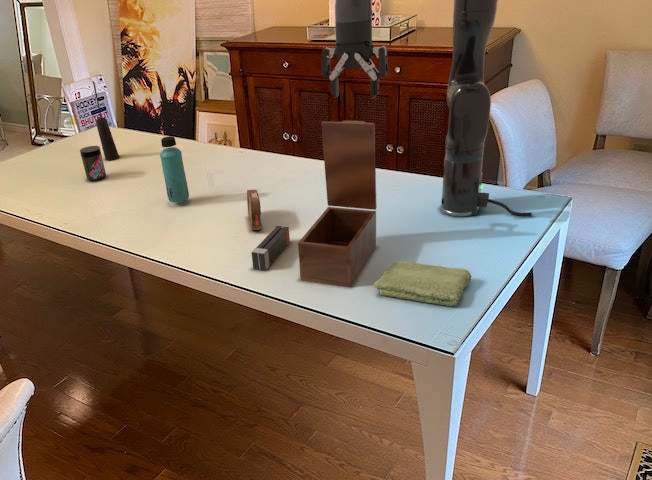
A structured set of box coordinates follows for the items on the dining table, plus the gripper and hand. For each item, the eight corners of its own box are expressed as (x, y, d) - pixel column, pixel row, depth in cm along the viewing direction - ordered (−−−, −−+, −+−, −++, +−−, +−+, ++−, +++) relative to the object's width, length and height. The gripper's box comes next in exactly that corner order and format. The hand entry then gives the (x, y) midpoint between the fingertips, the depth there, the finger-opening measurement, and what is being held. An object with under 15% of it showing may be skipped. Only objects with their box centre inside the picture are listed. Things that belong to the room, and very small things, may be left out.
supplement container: (86, 183, 209) (79, 153, 204) (87, 177, 215) (79, 147, 210) (106, 180, 210) (99, 150, 205) (106, 173, 216) (100, 144, 210)
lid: (373, 124, 132) (380, 114, 136) (321, 122, 137) (329, 113, 141) (375, 209, 145) (381, 199, 148) (327, 205, 149) (334, 195, 153)
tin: (247, 213, 175) (244, 185, 170) (258, 211, 175) (255, 183, 170) (252, 236, 162) (248, 206, 158) (263, 234, 162) (261, 204, 158)
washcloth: (393, 267, 141) (393, 254, 139) (472, 280, 132) (474, 267, 131) (371, 295, 131) (371, 282, 130) (456, 311, 123) (457, 298, 121)
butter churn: (97, 156, 234) (79, 79, 220) (122, 151, 236) (106, 75, 221) (98, 163, 227) (79, 84, 212) (124, 159, 228) (107, 80, 214)
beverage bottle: (194, 199, 187) (183, 134, 177) (183, 208, 182) (171, 141, 172) (175, 198, 190) (164, 133, 180) (164, 206, 185) (151, 140, 175)
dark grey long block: (278, 241, 158) (276, 224, 155) (290, 242, 156) (288, 226, 154) (253, 269, 146) (251, 251, 144) (265, 270, 145) (264, 253, 143)
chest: (351, 287, 135) (350, 248, 130) (300, 280, 140) (297, 242, 135) (376, 246, 150) (376, 210, 145) (329, 241, 155) (328, 206, 150)
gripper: (314, 21, 129) (318, 101, 137) (382, 19, 123) (381, 102, 132) (326, 16, 135) (329, 92, 143) (392, 13, 129) (391, 93, 137)
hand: (354, 97), depth 137 cm, fingers open, 8 cm apart
